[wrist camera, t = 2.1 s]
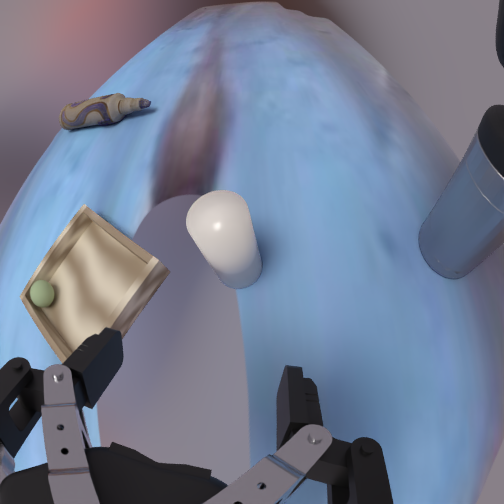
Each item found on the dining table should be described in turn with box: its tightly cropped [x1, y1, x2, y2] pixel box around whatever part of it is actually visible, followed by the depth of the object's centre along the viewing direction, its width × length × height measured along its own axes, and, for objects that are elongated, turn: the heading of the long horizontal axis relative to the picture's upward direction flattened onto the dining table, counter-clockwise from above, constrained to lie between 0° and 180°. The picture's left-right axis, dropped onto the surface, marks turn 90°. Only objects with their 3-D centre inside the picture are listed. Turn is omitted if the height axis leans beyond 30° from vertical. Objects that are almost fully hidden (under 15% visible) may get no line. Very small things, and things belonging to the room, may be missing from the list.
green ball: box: [30, 280, 54, 308], centre depth 33 cm, size 4×4×4 cm
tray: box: [20, 204, 170, 363], centre depth 33 cm, size 18×18×4 cm
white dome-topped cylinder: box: [186, 190, 262, 289], centre depth 29 cm, size 5×5×11 cm
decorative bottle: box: [59, 93, 151, 130], centre depth 51 cm, size 26×8×7 cm, turn 77°
